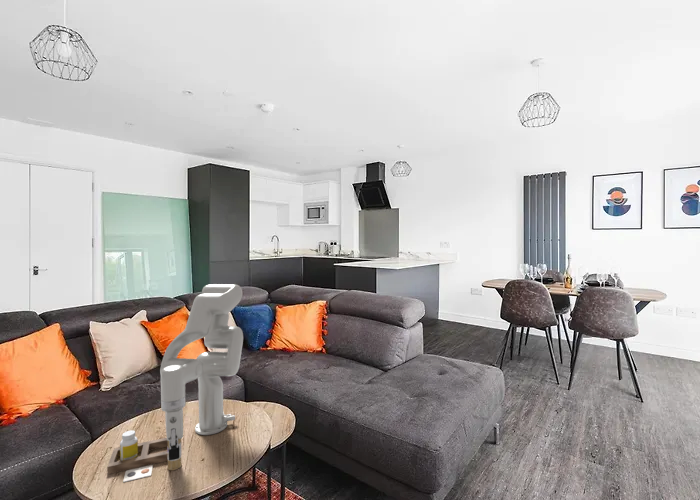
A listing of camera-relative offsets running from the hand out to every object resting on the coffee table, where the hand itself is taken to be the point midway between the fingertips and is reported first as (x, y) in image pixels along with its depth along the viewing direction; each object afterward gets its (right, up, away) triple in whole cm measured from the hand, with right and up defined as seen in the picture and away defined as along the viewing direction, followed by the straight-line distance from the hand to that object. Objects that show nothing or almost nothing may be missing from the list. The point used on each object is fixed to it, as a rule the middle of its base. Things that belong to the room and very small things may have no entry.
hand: (174, 454), depth 124 cm
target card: (-10, -5, -3) cm, 12 cm away
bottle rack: (-14, -4, +6) cm, 15 cm away
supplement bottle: (-18, -5, +4) cm, 19 cm away
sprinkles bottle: (0, -5, 0) cm, 5 cm away
